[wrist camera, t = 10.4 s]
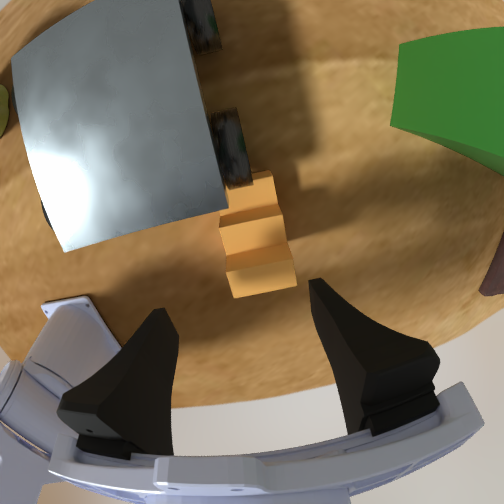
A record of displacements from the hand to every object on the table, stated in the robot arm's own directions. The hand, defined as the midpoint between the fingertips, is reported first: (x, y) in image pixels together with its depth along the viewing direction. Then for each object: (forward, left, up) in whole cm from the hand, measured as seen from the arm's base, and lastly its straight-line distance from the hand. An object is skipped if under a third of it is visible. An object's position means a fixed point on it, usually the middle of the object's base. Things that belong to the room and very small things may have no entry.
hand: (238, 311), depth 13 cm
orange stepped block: (+1, -1, -10) cm, 10 cm away
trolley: (+11, +5, -9) cm, 15 cm away
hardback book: (+7, -23, -10) cm, 26 cm away
